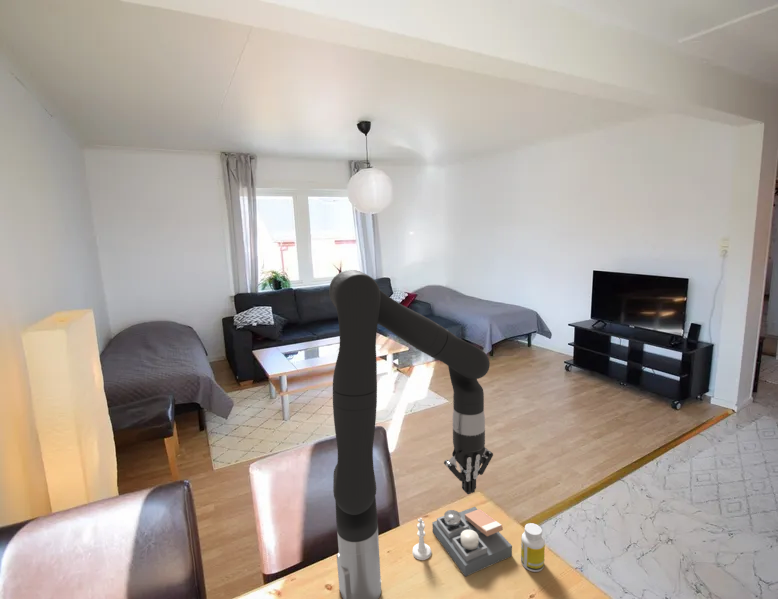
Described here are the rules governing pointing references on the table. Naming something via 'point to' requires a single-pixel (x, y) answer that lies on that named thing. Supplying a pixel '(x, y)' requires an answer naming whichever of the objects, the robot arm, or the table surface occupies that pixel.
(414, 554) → the chess piece
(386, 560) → the table surface
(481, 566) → the panel
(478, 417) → the robot arm
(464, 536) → the white button
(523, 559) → the supplement bottle
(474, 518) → the rocker
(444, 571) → the table surface
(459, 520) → the metal button
